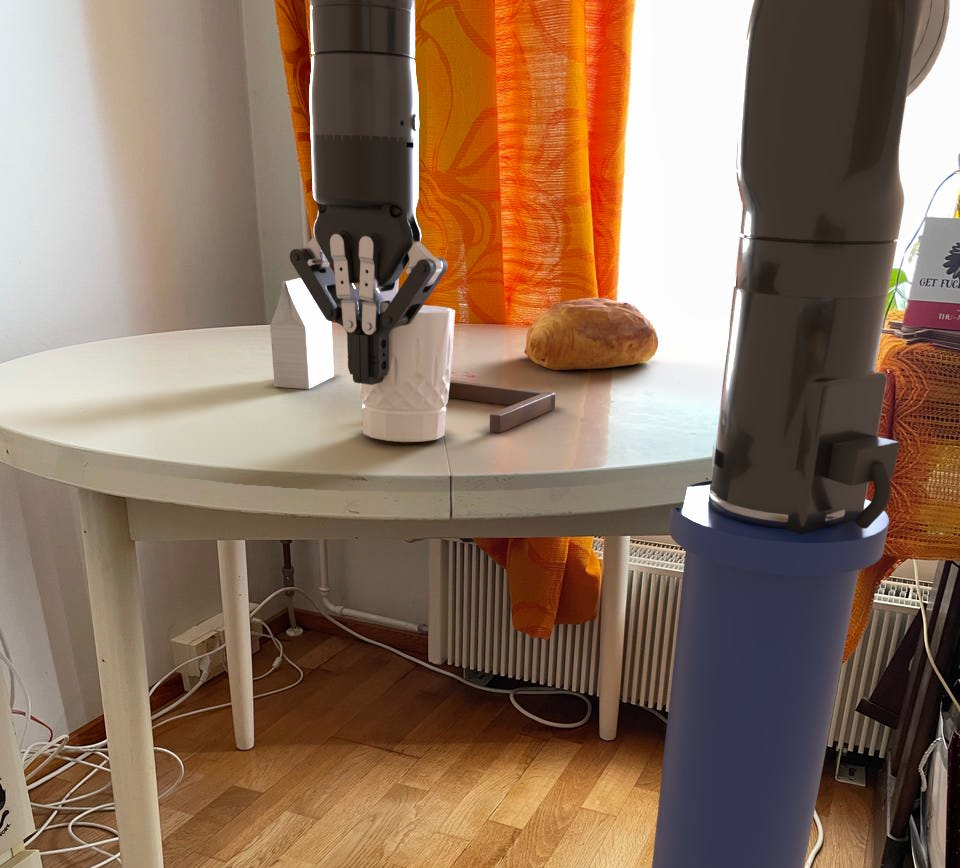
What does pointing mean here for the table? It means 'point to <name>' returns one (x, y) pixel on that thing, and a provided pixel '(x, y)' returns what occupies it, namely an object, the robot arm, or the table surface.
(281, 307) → the white milk carton
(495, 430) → the bay
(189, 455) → the table surface
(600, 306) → the bread loaf
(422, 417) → the white cup
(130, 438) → the table surface
